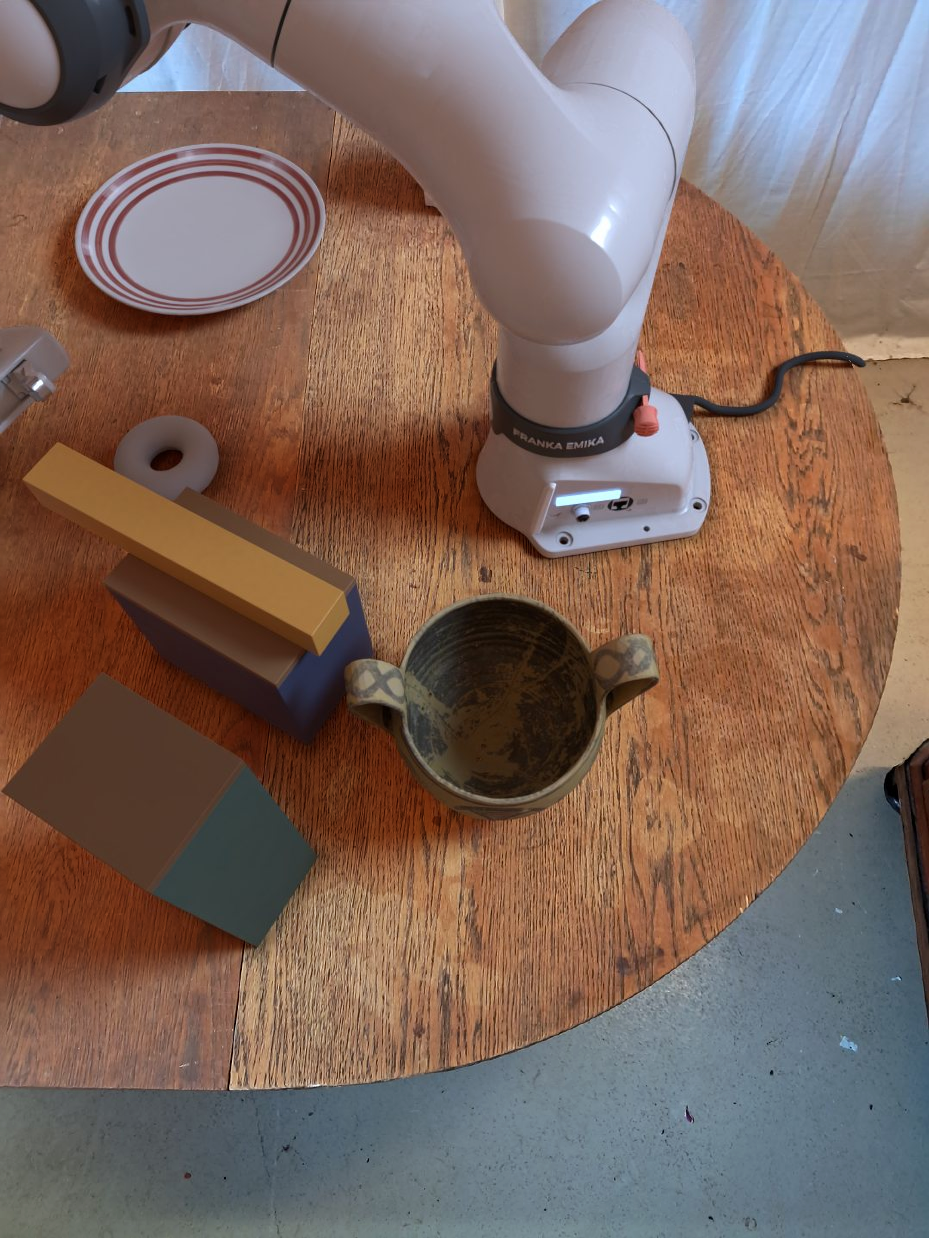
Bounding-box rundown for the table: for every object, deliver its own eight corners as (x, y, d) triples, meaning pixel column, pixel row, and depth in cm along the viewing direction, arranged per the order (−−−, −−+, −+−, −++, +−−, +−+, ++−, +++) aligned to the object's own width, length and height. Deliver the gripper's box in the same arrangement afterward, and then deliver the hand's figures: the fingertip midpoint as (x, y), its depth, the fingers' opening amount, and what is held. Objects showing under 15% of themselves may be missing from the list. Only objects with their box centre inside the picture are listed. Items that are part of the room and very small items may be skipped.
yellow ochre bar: (41, 505, 70) (21, 479, 66) (75, 468, 71) (57, 441, 68) (319, 657, 64) (311, 636, 61) (350, 613, 65) (344, 591, 62)
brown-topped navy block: (160, 657, 79) (101, 582, 66) (230, 572, 83) (186, 485, 70) (308, 746, 75) (275, 685, 63) (374, 653, 79) (355, 577, 66)
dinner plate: (113, 160, 108) (103, 135, 105) (340, 165, 107) (336, 139, 104) (59, 333, 96) (46, 310, 93) (314, 339, 95) (309, 316, 92)
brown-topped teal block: (156, 878, 71) (0, 790, 47) (219, 793, 74) (101, 671, 50) (257, 947, 68) (146, 891, 45) (318, 856, 71) (243, 759, 48)
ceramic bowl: (611, 637, 80) (640, 551, 66) (645, 827, 72) (684, 775, 59) (361, 658, 79) (337, 575, 65) (368, 852, 71) (344, 804, 58)
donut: (106, 505, 86) (204, 521, 85) (91, 484, 83) (193, 500, 82) (142, 423, 91) (236, 437, 89) (130, 401, 88) (227, 415, 86)
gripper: (-198, 483, 70) (-145, 500, 61) (-11, 314, 78) (61, 308, 69) (-128, 537, 74) (-68, 561, 65) (43, 372, 82) (117, 373, 73)
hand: (0, 429), depth 67 cm, fingers open, 8 cm apart
